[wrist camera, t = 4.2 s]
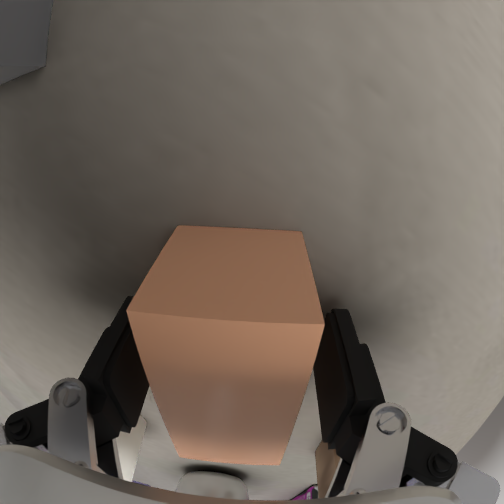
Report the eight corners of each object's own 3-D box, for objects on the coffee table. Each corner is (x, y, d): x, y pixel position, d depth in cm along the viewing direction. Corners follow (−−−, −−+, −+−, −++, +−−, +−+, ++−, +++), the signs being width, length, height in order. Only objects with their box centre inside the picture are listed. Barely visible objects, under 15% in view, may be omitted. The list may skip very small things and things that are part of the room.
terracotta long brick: (178, 223, 10) (126, 310, 6) (300, 229, 9) (324, 324, 6) (196, 376, 13) (179, 457, 9) (278, 382, 13) (279, 465, 9)
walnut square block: (330, 424, 15) (337, 487, 11) (393, 417, 15) (408, 474, 11) (314, 450, 18) (318, 503, 14) (370, 445, 17) (379, 494, 14)
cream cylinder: (84, 393, 15) (58, 453, 11) (138, 406, 15) (117, 475, 11) (104, 422, 17) (85, 475, 13) (152, 434, 17) (137, 492, 13)
